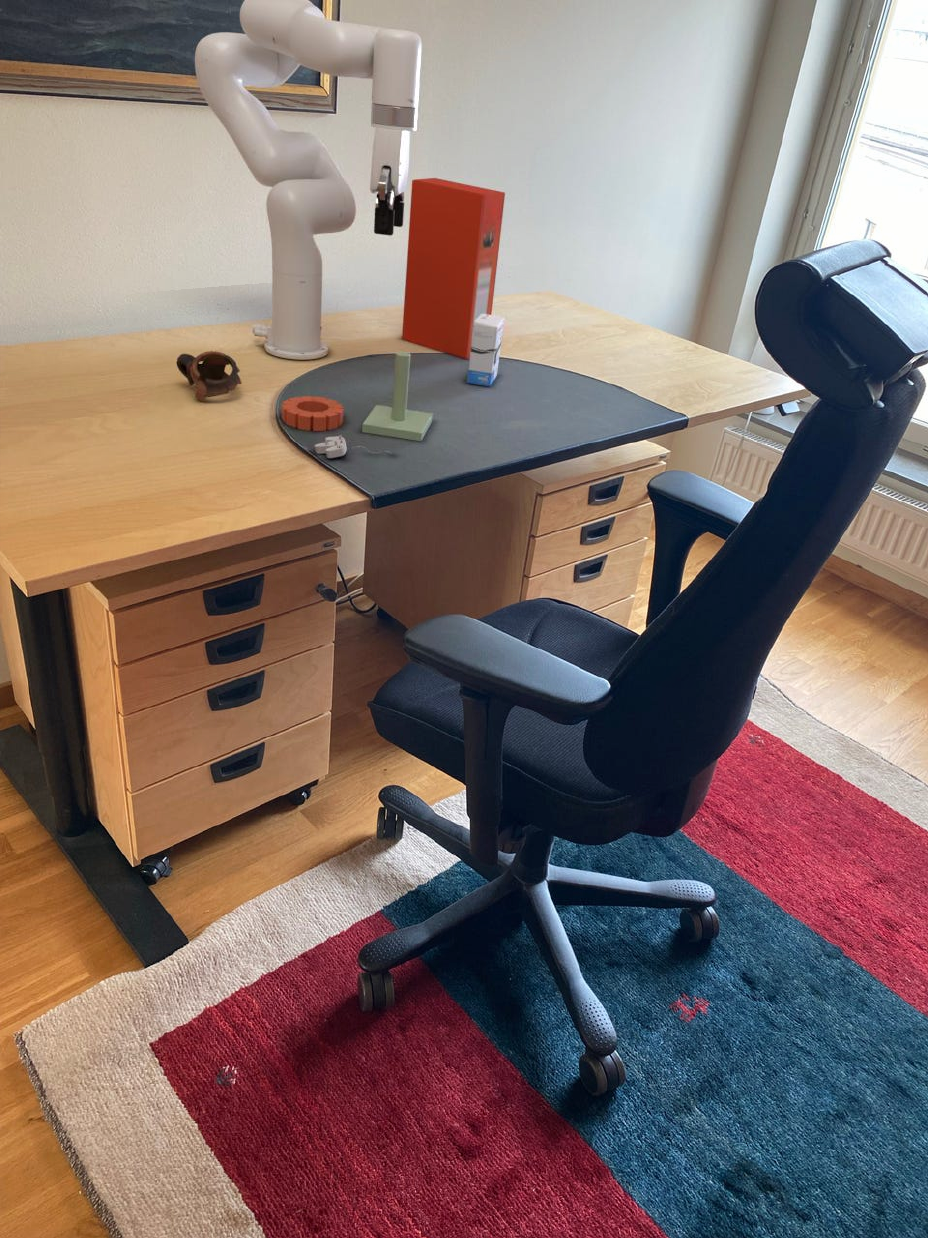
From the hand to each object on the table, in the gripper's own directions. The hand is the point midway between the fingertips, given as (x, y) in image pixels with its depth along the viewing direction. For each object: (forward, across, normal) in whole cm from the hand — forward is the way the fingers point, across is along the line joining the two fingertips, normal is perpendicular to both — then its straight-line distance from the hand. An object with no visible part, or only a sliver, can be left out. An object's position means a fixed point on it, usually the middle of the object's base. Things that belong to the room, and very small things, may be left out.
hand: (388, 229), depth 162 cm
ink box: (+28, -13, +18) cm, 36 cm away
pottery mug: (+28, +16, -27) cm, 42 cm away
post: (+28, +20, +7) cm, 35 cm away
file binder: (+28, -32, +8) cm, 43 cm away
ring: (+28, +22, -8) cm, 36 cm away
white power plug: (+28, +34, +2) cm, 44 cm away
